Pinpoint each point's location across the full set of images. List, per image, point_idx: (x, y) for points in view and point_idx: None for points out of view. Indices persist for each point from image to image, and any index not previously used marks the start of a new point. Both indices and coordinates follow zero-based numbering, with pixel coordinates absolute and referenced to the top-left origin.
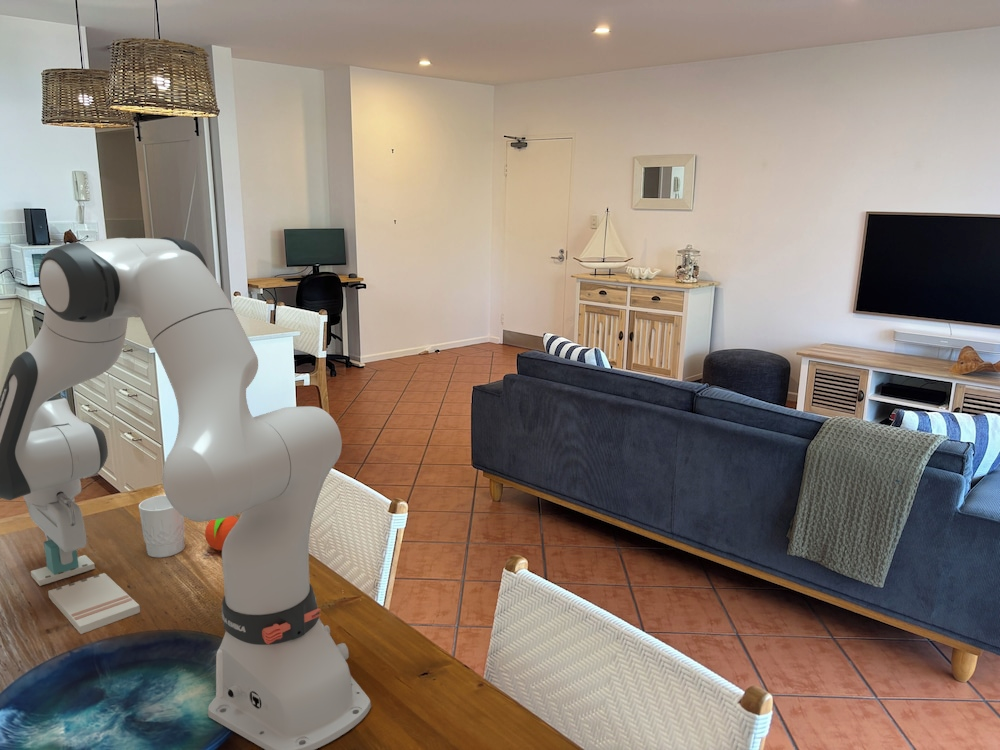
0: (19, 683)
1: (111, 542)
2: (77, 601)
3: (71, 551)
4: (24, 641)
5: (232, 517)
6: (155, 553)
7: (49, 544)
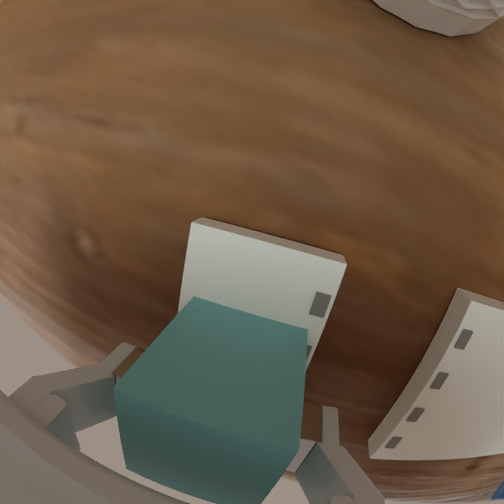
0: (499, 494)
1: (127, 46)
2: (493, 431)
3: (350, 462)
4: (450, 490)
5: None
6: (469, 29)
7: (184, 488)
